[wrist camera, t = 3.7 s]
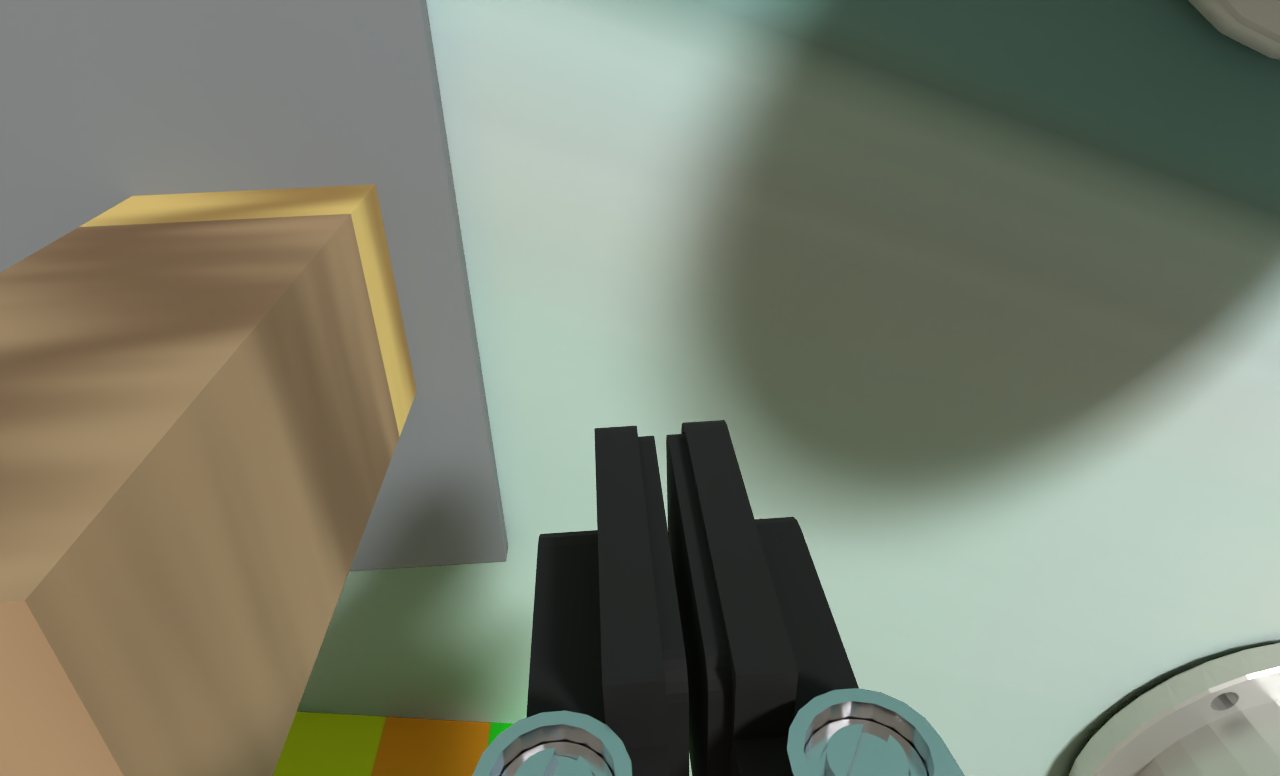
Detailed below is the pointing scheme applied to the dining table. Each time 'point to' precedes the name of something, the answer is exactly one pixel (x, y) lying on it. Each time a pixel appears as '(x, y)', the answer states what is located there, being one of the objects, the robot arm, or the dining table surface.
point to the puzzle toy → (383, 746)
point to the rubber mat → (271, 187)
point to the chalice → (1246, 22)
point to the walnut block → (187, 472)
